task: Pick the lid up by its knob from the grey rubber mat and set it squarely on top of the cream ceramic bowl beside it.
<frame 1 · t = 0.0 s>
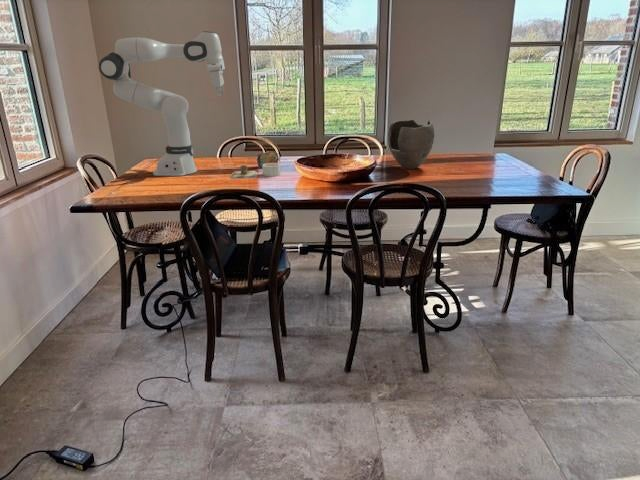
hand: (220, 95, 235), 39 cm above the table, tool pointing down, fingers open, 8 cm apart
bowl: (271, 175, 239), on the table
mat: (244, 176, 238), on the table
lid: (244, 175, 238), resting on mat
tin: (268, 167, 257), on the table
clay pot: (409, 168, 250), on the table
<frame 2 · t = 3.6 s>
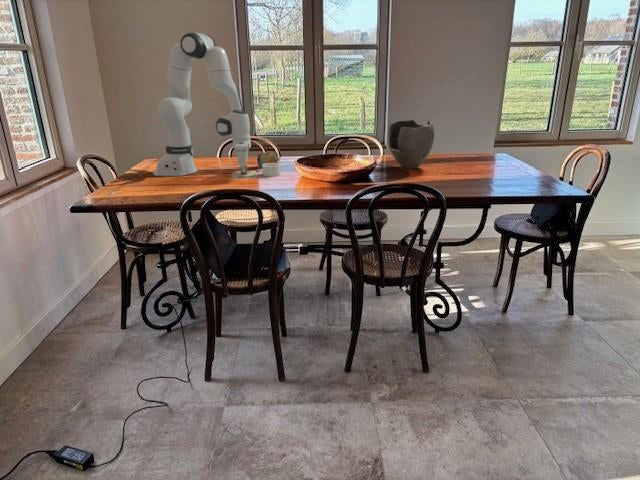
hand: (243, 170, 237), 3 cm above the table, tool pointing down, fingers closed on lid, 3 cm apart
lid: (244, 175, 238), resting on mat, touching gripper
everything else where it was.
when the fingers open (9 cm above the table, at t = 8.5 s): lid drops 1 cm, resting on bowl.
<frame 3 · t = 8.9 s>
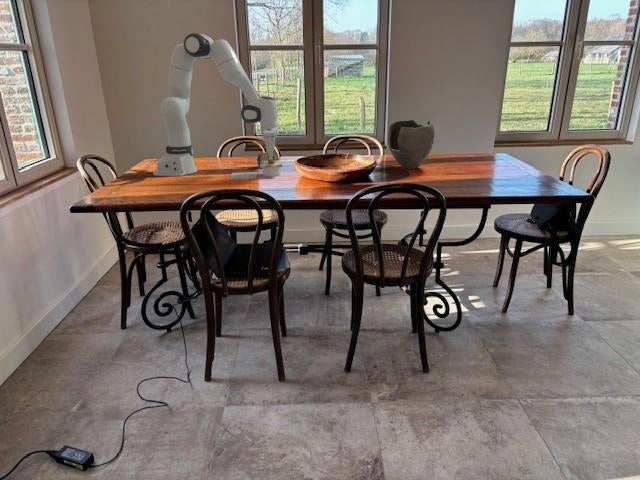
hand: (270, 158, 236), 9 cm above the table, tool pointing down, fingers open, 7 cm apart
lid: (271, 164, 237), point 5 cm above the table, touching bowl
everything else where it was.
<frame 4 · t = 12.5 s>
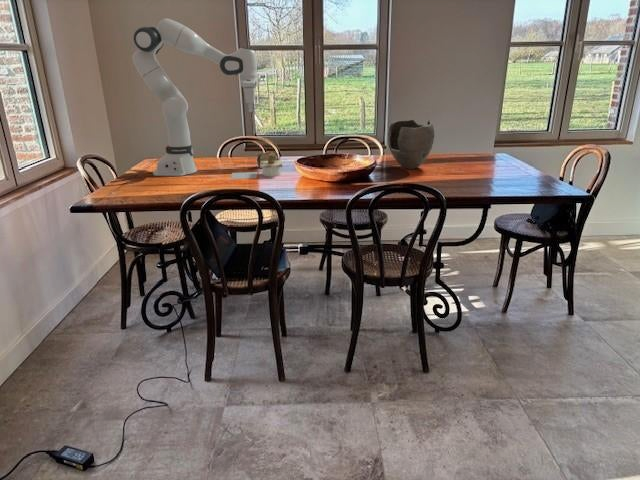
hand: (251, 110, 238), 31 cm above the table, tool pointing down, fingers open, 8 cm apart
nothing on the table moved.
at the end: lid 0.0 cm off-centre on the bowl, point 5.4 cm above the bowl's base; lid tilted 0°; the gripper is holding nothing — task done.
